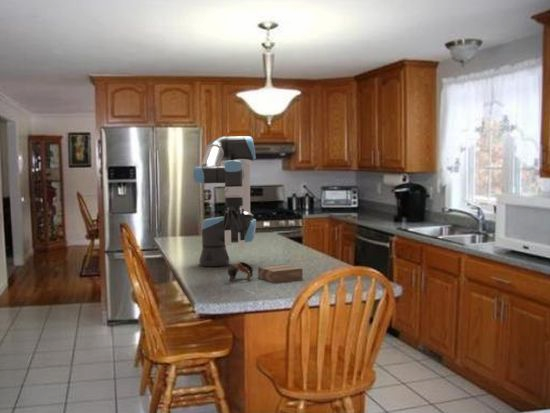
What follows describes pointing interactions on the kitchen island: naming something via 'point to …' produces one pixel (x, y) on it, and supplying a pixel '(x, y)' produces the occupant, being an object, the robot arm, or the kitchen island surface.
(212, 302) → the kitchen island surface
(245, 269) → the brown piece
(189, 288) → the kitchen island surface
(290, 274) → the walnut riser block
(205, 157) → the robot arm
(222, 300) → the kitchen island surface
